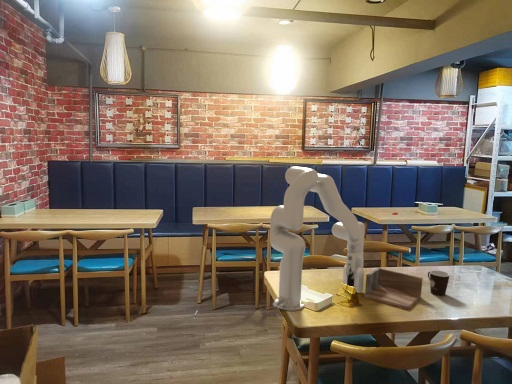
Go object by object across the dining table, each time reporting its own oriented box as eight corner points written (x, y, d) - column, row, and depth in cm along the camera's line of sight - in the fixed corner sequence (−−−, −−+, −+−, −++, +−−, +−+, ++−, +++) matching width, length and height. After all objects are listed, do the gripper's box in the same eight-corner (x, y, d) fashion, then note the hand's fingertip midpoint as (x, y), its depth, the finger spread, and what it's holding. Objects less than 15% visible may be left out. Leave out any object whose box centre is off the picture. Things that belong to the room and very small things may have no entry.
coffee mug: (449, 298, 186) (451, 277, 185) (430, 296, 188) (432, 275, 187) (443, 288, 198) (445, 269, 196) (425, 287, 199) (426, 267, 198)
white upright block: (341, 287, 196) (342, 263, 194) (346, 285, 198) (348, 261, 197) (358, 294, 188) (360, 268, 186) (364, 292, 191) (365, 267, 189)
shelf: (408, 309, 172) (409, 286, 171) (363, 297, 184) (365, 275, 183) (420, 297, 186) (422, 275, 185) (379, 286, 198) (380, 266, 197)
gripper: (354, 253, 181) (352, 291, 184) (369, 245, 195) (367, 281, 197) (339, 249, 186) (337, 287, 188) (355, 242, 199) (353, 278, 202)
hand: (352, 284), depth 193 cm, fingers closed on white upright block, 5 cm apart
